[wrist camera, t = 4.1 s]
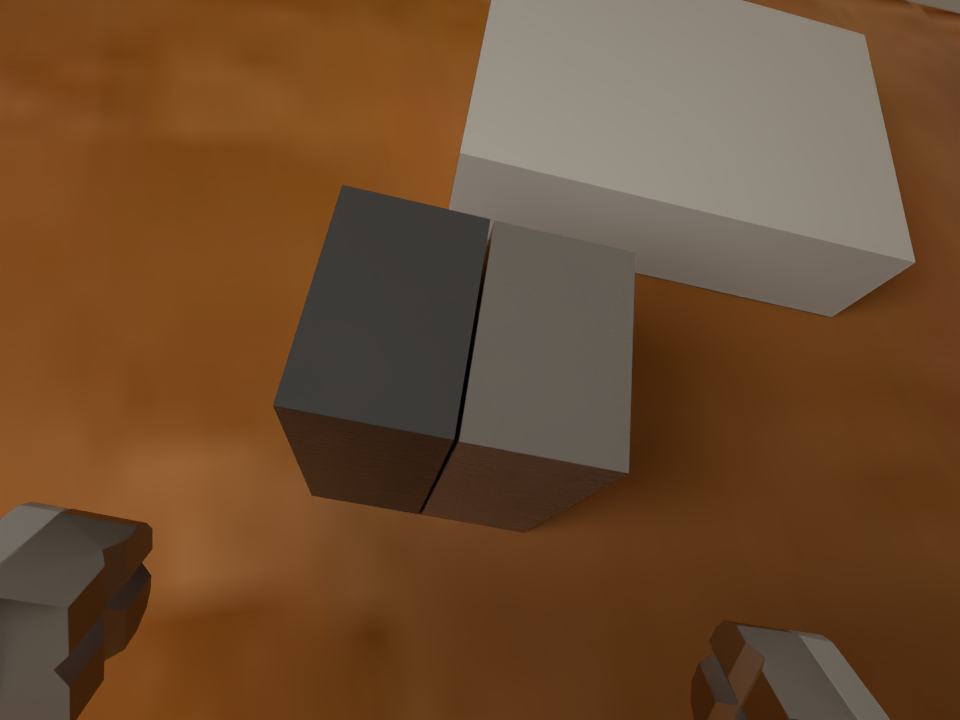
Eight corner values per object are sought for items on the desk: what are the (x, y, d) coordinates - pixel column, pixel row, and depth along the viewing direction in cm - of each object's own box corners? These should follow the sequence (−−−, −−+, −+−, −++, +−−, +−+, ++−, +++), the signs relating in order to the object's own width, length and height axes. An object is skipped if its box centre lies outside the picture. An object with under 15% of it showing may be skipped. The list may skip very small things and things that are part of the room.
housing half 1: (421, 514, 18) (459, 441, 10) (448, 366, 20) (494, 220, 13) (523, 532, 18) (628, 473, 11) (539, 384, 20) (635, 252, 13)
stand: (444, 229, 22) (460, 152, 18) (486, 24, 27) (505, -67, 23) (831, 317, 24) (915, 262, 20) (802, 107, 29) (864, 34, 25)
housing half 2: (311, 495, 17) (273, 405, 10) (351, 346, 19) (341, 185, 12) (418, 514, 18) (453, 440, 10) (445, 365, 20) (490, 218, 13)
